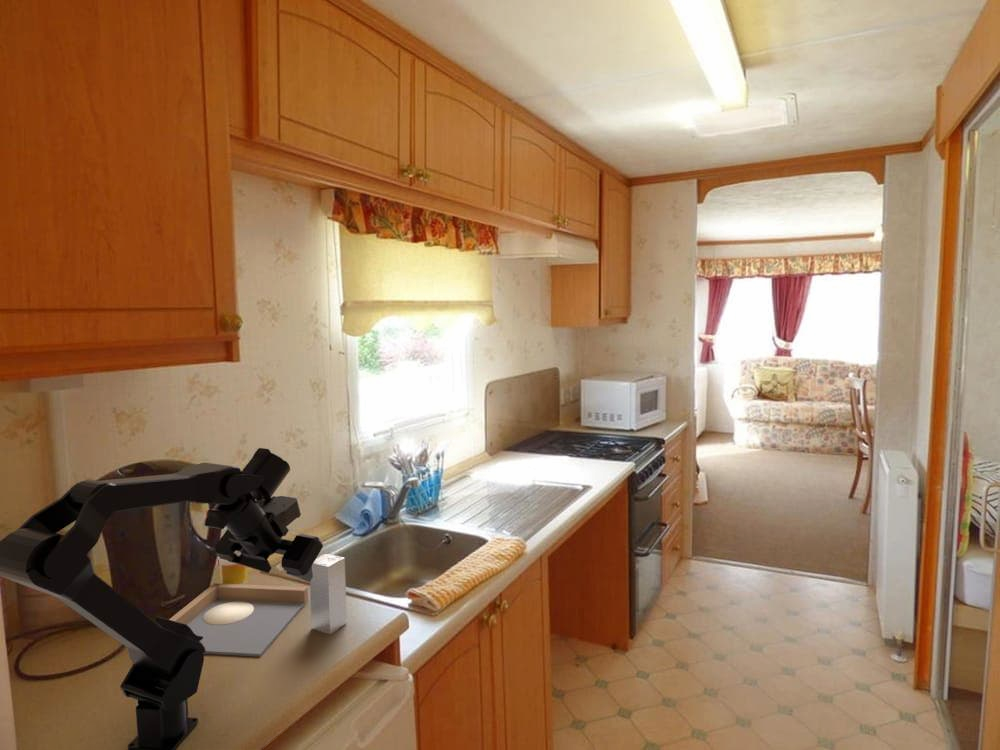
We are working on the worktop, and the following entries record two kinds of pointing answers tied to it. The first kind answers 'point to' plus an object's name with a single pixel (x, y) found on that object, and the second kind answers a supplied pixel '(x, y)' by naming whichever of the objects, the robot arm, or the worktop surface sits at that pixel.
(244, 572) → the supplement bottle
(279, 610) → the corner arena
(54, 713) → the worktop surface
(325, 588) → the aluminium post
